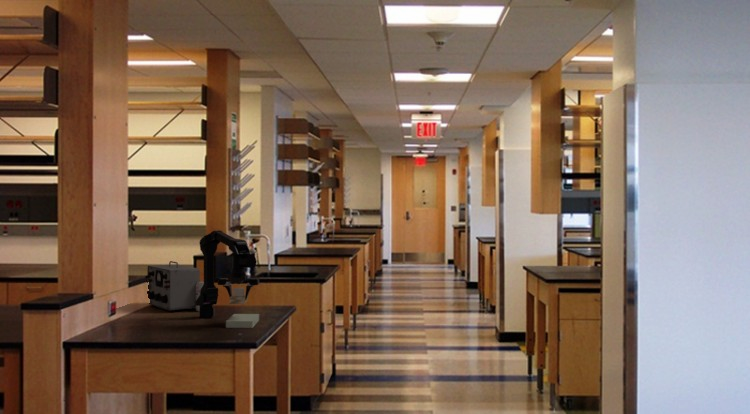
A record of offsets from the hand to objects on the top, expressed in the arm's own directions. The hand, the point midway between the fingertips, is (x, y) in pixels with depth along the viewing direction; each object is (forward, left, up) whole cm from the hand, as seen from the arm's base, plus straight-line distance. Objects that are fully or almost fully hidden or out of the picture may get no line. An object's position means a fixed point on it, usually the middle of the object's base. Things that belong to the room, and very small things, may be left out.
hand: (238, 300), depth 350 cm
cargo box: (0, 0, +2) cm, 2 cm away
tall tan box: (0, 0, -1) cm, 1 cm away
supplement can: (-25, +41, -11) cm, 49 cm away
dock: (+2, 0, -11) cm, 11 cm away
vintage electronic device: (-44, +49, -11) cm, 67 cm away
